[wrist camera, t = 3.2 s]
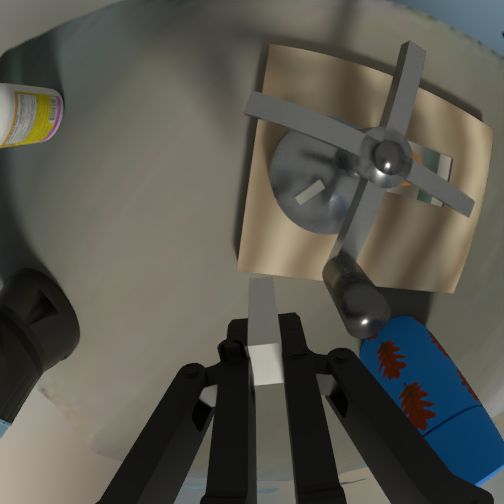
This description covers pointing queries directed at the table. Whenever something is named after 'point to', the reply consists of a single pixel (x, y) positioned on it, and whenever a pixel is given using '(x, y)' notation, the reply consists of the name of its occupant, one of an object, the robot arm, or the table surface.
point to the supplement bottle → (28, 114)
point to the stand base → (395, 199)
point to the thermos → (435, 398)
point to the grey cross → (350, 183)
